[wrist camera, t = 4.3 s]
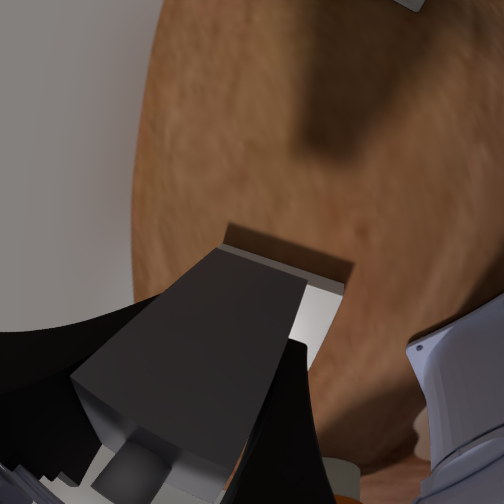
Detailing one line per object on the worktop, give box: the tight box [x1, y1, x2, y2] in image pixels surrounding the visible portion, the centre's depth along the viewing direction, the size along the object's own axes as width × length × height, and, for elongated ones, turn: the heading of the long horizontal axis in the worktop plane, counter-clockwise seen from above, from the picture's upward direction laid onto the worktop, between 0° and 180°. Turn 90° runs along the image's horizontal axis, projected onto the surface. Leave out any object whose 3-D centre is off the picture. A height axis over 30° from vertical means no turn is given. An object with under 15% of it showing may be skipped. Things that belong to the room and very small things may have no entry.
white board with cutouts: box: [217, 243, 344, 370], centre depth 20 cm, size 14×8×2 cm, turn 169°
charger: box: [70, 248, 308, 504], centre depth 7 cm, size 4×4×8 cm
